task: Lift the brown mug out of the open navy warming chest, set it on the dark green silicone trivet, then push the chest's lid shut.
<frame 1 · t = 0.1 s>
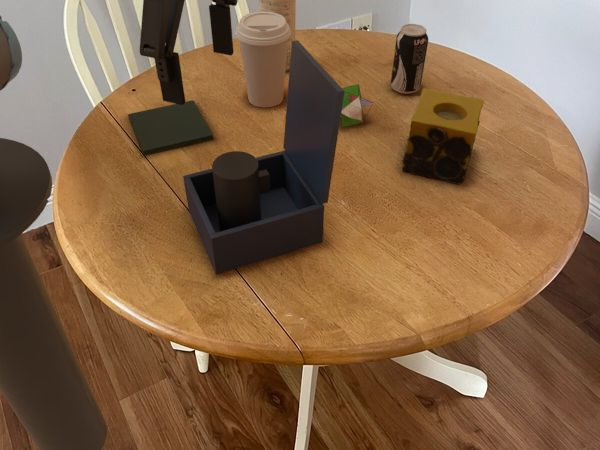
hand: (200, 76, 76), 20 cm above the table, tool pointing down, fingers open, 13 cm apart
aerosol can: (278, 65, 119), on the table
coffee cup: (265, 99, 110), on the table
beverage can: (404, 89, 113), on the table
chest lid: (310, 123, 76), point 15 cm above the table, hinge at 95.0°
geometric puzzle: (349, 122, 104), on the table
chest: (254, 226, 84), on the table
trivet: (170, 128, 102), on the table
brown mug: (240, 226, 83), point 1 cm above the table, touching chest
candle: (436, 162, 96), on the table
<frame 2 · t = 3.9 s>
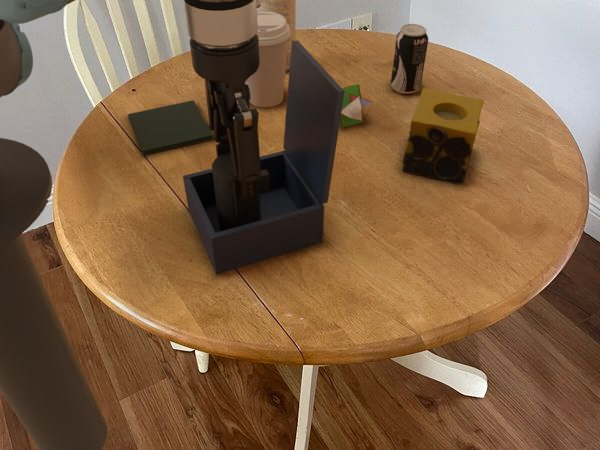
hand: (237, 196, 79), 6 cm above the table, tool pointing down, fingers closed on brown mug, 6 cm apart
brown mug: (240, 226, 83), point 1 cm above the table, touching chest, gripper
everything else where it was.
when the fingers open (7 cm above the table, at t = 10.9 s): brown mug stays where it is, resting on trivet.
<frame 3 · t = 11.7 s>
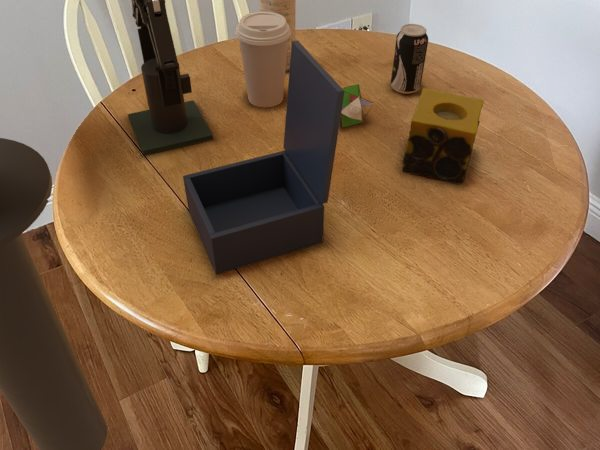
hand: (162, 83, 96), 9 cm above the table, tool pointing down, fingers open, 13 cm apart
brown mug: (170, 124, 102), point 1 cm above the table, touching trivet
everything else where it was.
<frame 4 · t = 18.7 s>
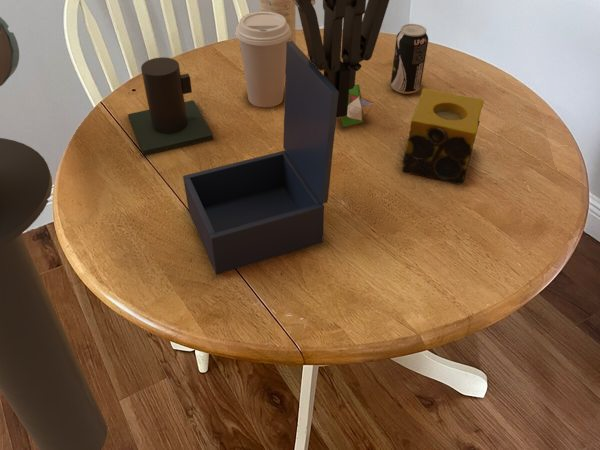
hand: (337, 111, 77), 16 cm above the table, tool pointing down, fingers closed
chest lid: (307, 123, 76), point 16 cm above the table, hinge at 92.4°, touching gripper
everything else where it was.
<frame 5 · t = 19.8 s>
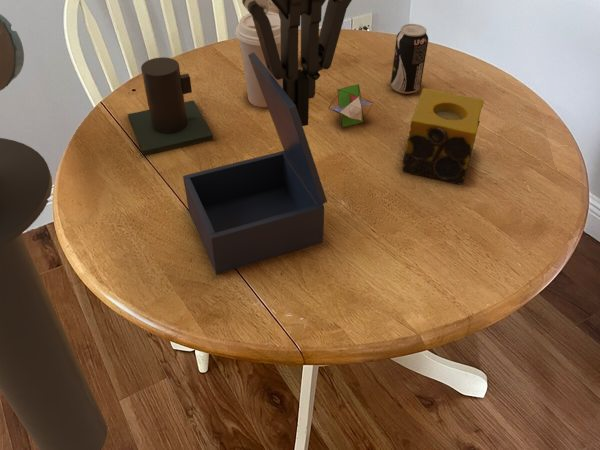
hand: (298, 120, 75), 16 cm above the table, tool pointing down, fingers closed
chest lid: (288, 130, 76), point 15 cm above the table, hinge at 73.7°, touching gripper
everything else where it was.
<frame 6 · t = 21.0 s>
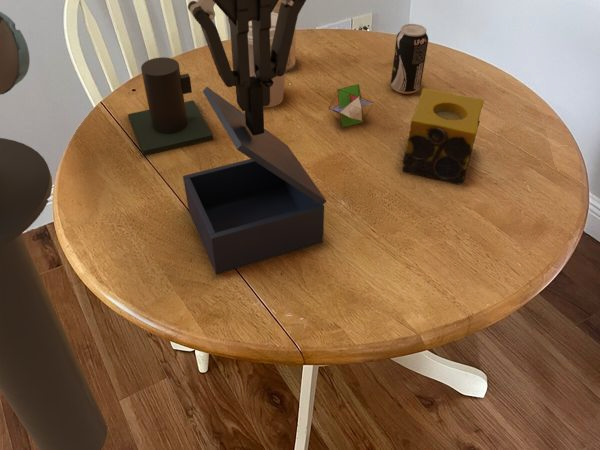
hand: (254, 128, 73), 17 cm above the table, tool pointing down, fingers closed
chest lid: (265, 147, 76), point 13 cm above the table, hinge at 47.9°
everything else where it was.
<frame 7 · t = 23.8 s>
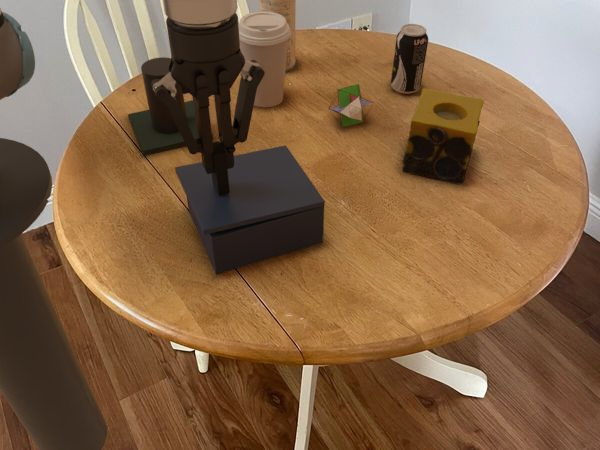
hand: (221, 187, 77), 9 cm above the table, tool pointing down, fingers closed
chest lid: (248, 186, 79), point 8 cm above the table, hinge at 3.0°, touching gripper
everything else where it was.
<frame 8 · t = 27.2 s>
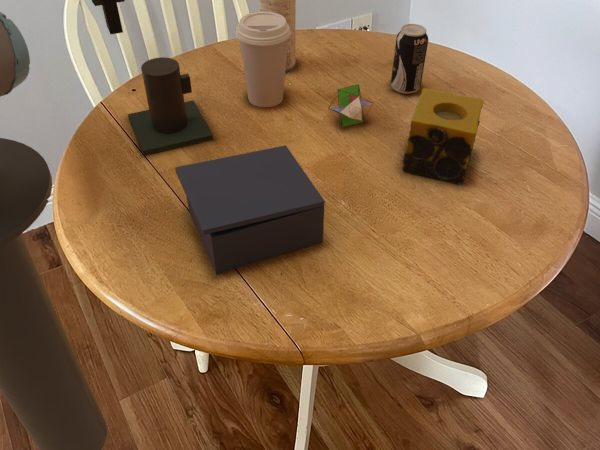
hand: (114, 28, 71), 26 cm above the table, tool pointing down, fingers closed
chest lid: (248, 186, 79), point 8 cm above the table, hinge at 3.0°
everything else where it was.
at the end: brown mug inside the target area on the trivet (0.1 cm from its centre), point 1.0 cm above the trivet's base; brown mug tilted 0°; chest lid at +3° (first picture: +95°) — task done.
